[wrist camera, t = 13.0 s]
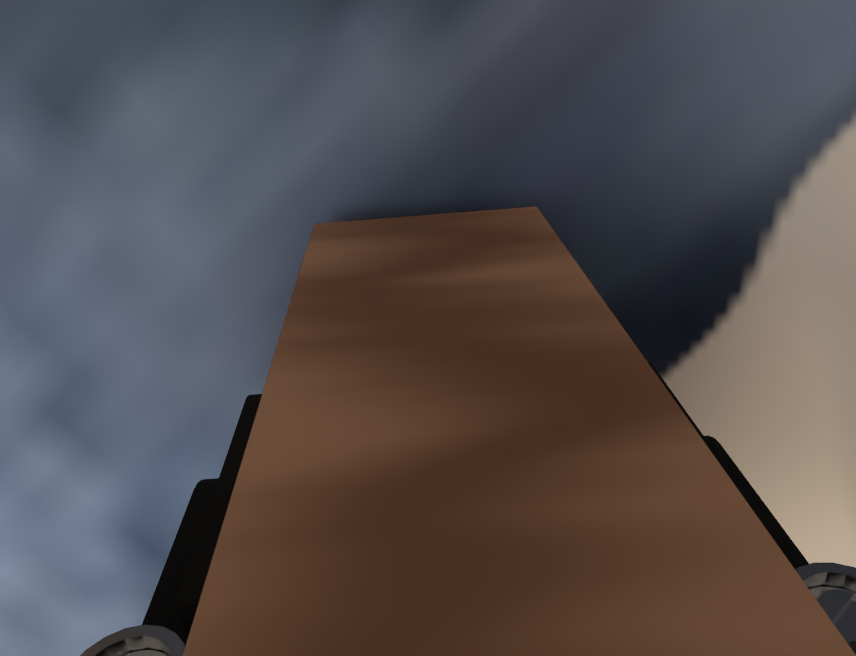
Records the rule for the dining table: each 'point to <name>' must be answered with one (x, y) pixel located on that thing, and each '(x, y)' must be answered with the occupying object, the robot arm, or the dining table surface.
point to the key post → (482, 472)
